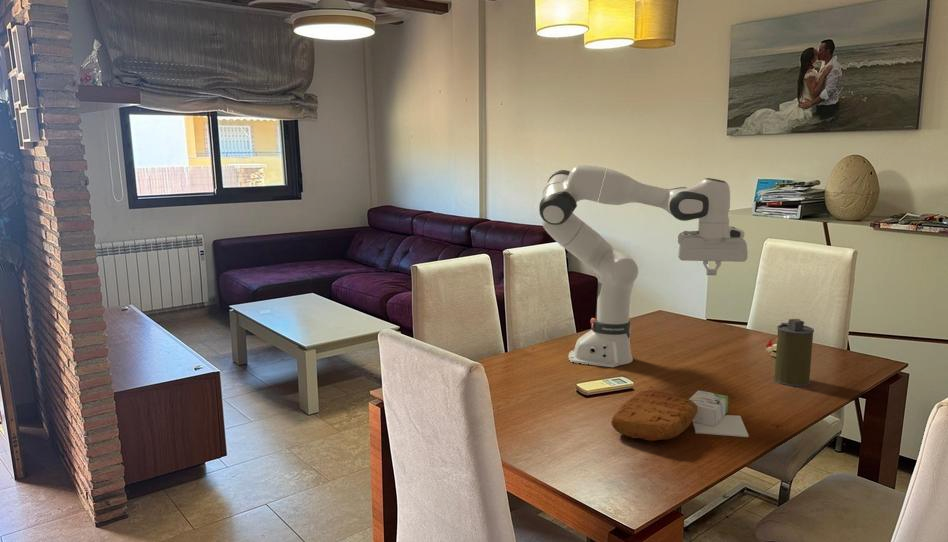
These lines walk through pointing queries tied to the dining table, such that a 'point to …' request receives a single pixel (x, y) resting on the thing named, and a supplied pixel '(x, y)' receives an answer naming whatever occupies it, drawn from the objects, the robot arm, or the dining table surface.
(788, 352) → the canister
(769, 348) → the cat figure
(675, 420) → the cuneiform tablet
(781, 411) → the dining table surface
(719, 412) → the ink box
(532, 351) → the dining table surface
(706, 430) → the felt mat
